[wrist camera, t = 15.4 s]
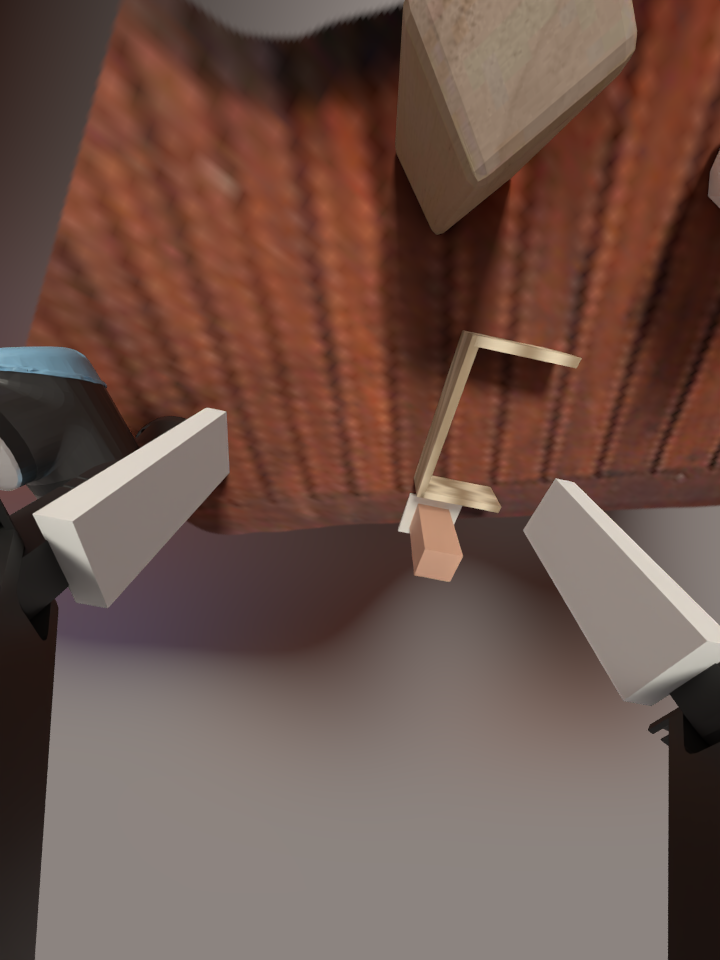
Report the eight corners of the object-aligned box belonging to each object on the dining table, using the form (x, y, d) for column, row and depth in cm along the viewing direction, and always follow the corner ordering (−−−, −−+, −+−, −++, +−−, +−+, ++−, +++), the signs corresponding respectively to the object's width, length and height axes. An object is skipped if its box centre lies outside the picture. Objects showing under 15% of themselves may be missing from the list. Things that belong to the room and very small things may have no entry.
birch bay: (413, 477, 54) (416, 496, 49) (462, 330, 42) (473, 334, 37) (487, 492, 55) (498, 512, 50) (558, 350, 42) (581, 358, 37)
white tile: (397, 529, 61) (398, 531, 60) (409, 492, 56) (410, 494, 56) (446, 538, 61) (446, 540, 61) (462, 503, 56) (462, 505, 56)
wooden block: (516, 174, 33) (650, 46, 16) (434, 240, 37) (476, 192, 20) (478, 60, 30) (603, -262, 13) (391, 146, 33) (396, -14, 16)
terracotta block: (417, 503, 56) (424, 549, 46) (449, 509, 57) (462, 556, 46) (409, 527, 60) (414, 575, 49) (438, 533, 60) (449, 581, 50)
